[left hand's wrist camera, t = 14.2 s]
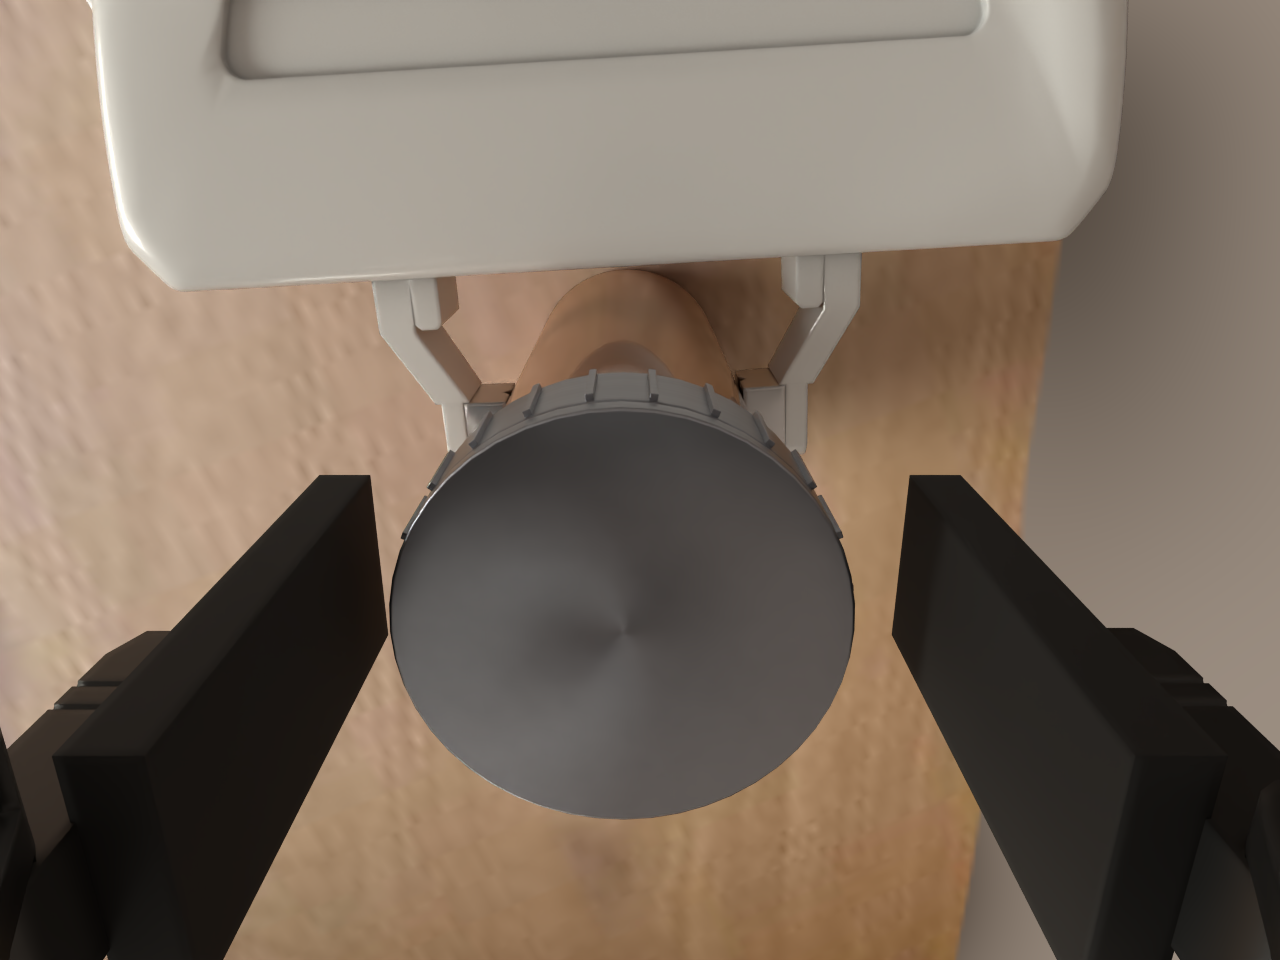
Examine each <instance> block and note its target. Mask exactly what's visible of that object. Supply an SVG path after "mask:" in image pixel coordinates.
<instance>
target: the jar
mask: <svg viewBox="0 0 1280 960" xmlns="http://www.w3.org/2000/svg"><path fill="white" fill-rule="evenodd" d="M591 369H597V374H602V373H618V372H628V373H644V374H648V369H655V370H656V374H657V375H659V376H665V377H670V378H675V379H680V380H683V381H686V382H689V383H692V384H695V385H698V386H701V387H704V386H705V383H708V384H710V385H712V386H713V389H714V392H715V393H717V394H719V395H721V396H723V397H725V398H727V399H730V400H732V401H733V402H735V403H736V404H738V405H739V406H741V407H742V408H744V409H745V410H747V411H748V409H747V407H746V405H745V402H744V400H743V398H742V396H741V393H740V391H739V389H738V386H737V384H736V382H735V380H734V377H733V375H732V373H731V371H730V368H729V366H728V364H727V361H726V359H725V357H724V355H723V352H722V350H721V348H720V346H719V343H718V341H717V339H716V336H715V334H714V332H713V330H712V327H711V325H710V323H709V321H708V319H707V317H706V315H705V313H704V311H703V310H702V308H701V307H700V305H699V304H698V303H697V302H696V300H695V299H694V298H693V297H692V296H691V295H690V294H689V293H688V292H687V291H686V290H684V289H683V288H682V287H680V286H679V285H678V284H676V283H675V282H673V281H671V280H669V279H667V278H665V277H663V276H660V275H658V274H655V273H652V272H647V271H642V270H632V269H623V270H613V271H608V272H604V273H601V274H598V275H595V276H592V277H590V278H588V279H586V280H584V281H582V282H581V283H579V284H578V285H577V286H575V287H574V288H572V289H571V290H570V291H569V292H568V293H567V294H566V295H565V296H563V298H562V299H561V300H560V301H559V302H558V304H557V305H556V306H555V308H554V309H553V311H552V313H551V314H550V316H549V318H548V320H547V322H546V324H545V326H544V328H543V330H542V332H541V334H540V336H539V338H538V340H537V342H536V344H535V346H534V348H533V350H532V353H531V355H530V357H529V359H528V361H527V363H526V365H525V367H524V369H523V371H522V373H521V375H520V377H519V379H518V381H517V383H516V385H515V387H514V389H513V391H512V393H511V395H510V397H509V399H508V401H507V404H506V406H507V405H508V404H510V403H511V402H513V401H515V400H517V399H519V398H521V397H523V396H525V395H527V394H529V393H530V392H531V389H532V387H533V385H536V384H538V383H540V385H541V387H545V386H548V385H551V384H554V383H557V382H560V381H563V380H566V379H571V378H576V377H581V376H587V375H589V370H591ZM748 412H749V411H748Z"/></svg>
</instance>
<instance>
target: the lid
mask: <svg viewBox="0 0 1280 960" xmlns="http://www.w3.org/2000/svg"><path fill="white" fill-rule="evenodd" d="M816 487H817V486H816V484H815V482H814V480H813V478H812V476H811V475H810V473H809V471H808V469H807V467H806V465H805V464H804V462H803V460H802V458H801V456H800V454H799V453H798V452H797V450H796V449H794V450H793V451H792V452H791V451H790V450H789V449H788V448H787V447H786V446H785V445H784V443H783V442H782V441H781V440H780V439H779V438H778V436H777V435H776V434H775V433H774V432H773V431H772V430H770V429H769V428H768V427H767V425H766V423H765V421H764V419H763V417H762V415H761V414H760V413H759V412H758V411H755V412H754V413H753V414H751V413H750V412H748V411H747V410H745V409H744V408H742V407H741V406H739V405H738V404H736V403H735V402H733V401H732V400H730V399H727V398H725V397H723V396H721V395H719V394H717V393H715V392H714V389H713V386H712V385H710V384H708V383H705V386H704V387H701V386H698V385H695V384H692V383H689V382H686V381H683V380H680V379H675V378H670V377H665V376H659V375H657V374H656V370H655V369H648V374H644V373H628V372H618V373H602V374H597V369H591V370H589V375H587V376H581V377H576V378H571V379H566V380H563V381H560V382H557V383H554V384H551V385H548V386H545V387H541V385H540V383H538V384H536V385H533V387H532V389H531V392H530V393H529V394H527V395H525V396H523V397H521V398H519V399H517V400H515V401H513V402H511V403H510V404H508V405H507V406H505V407H504V408H502V409H501V410H499V411H498V412H496V413H495V414H492V413H491V412H490V411H488V412H487V413H486V414H485V415H484V416H483V418H482V420H481V422H480V423H479V425H478V427H477V429H476V430H475V431H474V432H472V433H471V434H470V435H469V437H468V438H467V439H466V440H465V441H464V443H463V444H462V445H461V446H460V447H459V448H458V450H457V451H456V452H453V451H452V450H449V452H448V453H447V454H446V456H445V458H444V459H443V461H442V463H441V464H440V466H439V468H438V469H437V471H436V473H435V474H434V476H433V478H432V479H431V481H430V483H429V484H428V486H427V488H428V489H430V490H431V492H430V494H429V495H428V497H427V496H424V498H423V499H422V501H421V503H420V504H419V506H418V508H417V509H416V511H415V513H414V514H413V516H412V518H411V519H410V521H409V523H408V524H407V526H406V528H405V529H404V531H403V533H402V536H401V539H403V540H404V542H403V545H402V547H401V549H400V552H399V555H398V559H397V563H396V566H395V570H394V574H393V577H392V586H391V594H390V603H389V612H390V634H391V639H392V645H393V650H394V656H395V660H396V663H397V666H398V669H399V672H400V675H401V678H402V681H403V684H404V686H405V688H406V690H407V692H408V694H409V696H410V698H411V700H412V702H413V704H414V706H415V708H416V710H417V711H418V712H419V714H420V715H421V717H422V718H423V720H424V721H425V723H426V724H427V726H428V727H429V729H430V730H431V731H432V732H433V734H434V735H435V736H436V737H437V738H438V739H439V740H440V741H441V743H442V744H443V745H444V746H445V747H446V748H447V749H448V750H449V751H450V752H451V753H452V754H453V755H454V756H455V757H457V758H458V759H459V760H460V761H461V762H462V763H463V764H465V765H466V766H467V767H468V768H469V769H471V770H472V771H474V772H475V773H476V774H478V775H479V776H481V777H482V778H484V779H485V780H487V781H488V782H490V783H491V784H493V785H495V786H497V787H499V788H501V789H502V790H504V791H506V792H508V793H510V794H512V795H514V796H516V797H518V798H521V799H523V800H526V801H529V802H531V803H534V804H536V805H539V806H541V807H545V808H549V809H552V810H556V811H560V812H564V813H567V814H573V815H579V816H586V817H592V818H604V819H640V818H654V817H660V816H666V815H672V814H678V813H682V812H686V811H689V810H693V809H696V808H700V807H704V806H707V805H709V804H712V803H714V802H717V801H719V800H722V799H724V798H727V797H729V796H732V795H733V794H735V793H737V792H739V791H741V790H743V789H745V788H746V787H748V786H750V785H752V784H754V783H756V782H757V781H758V780H760V779H761V778H763V777H764V776H766V775H767V774H768V773H770V772H771V771H773V770H774V769H776V768H777V767H778V766H779V765H781V764H782V763H783V762H784V761H785V760H786V759H787V758H788V757H789V756H791V755H792V754H793V753H794V752H795V751H796V750H797V749H798V748H799V747H800V746H801V745H802V744H803V742H804V741H805V740H806V739H807V738H808V737H809V736H810V734H811V733H812V732H813V731H814V730H815V728H816V727H817V725H818V724H819V722H820V721H821V719H822V718H823V716H824V715H825V713H826V712H827V710H828V709H829V707H830V706H831V703H832V701H833V699H834V697H835V695H836V693H837V691H838V689H839V687H840V685H841V683H842V680H843V677H844V674H845V670H846V667H847V664H848V661H849V658H850V653H851V647H852V641H853V635H854V623H855V600H854V593H853V591H854V589H853V583H852V577H851V573H850V570H849V566H848V563H847V559H846V556H845V552H844V549H843V547H842V545H841V542H840V540H839V539H840V538H843V534H842V532H841V530H840V528H839V526H838V524H837V522H836V521H835V519H834V517H833V515H832V513H831V511H830V510H829V508H828V506H827V504H826V502H825V500H824V499H823V497H822V495H819V496H817V494H816V493H815V491H814V488H816Z"/></svg>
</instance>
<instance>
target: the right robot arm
mask: <svg viewBox="0 0 1280 960" xmlns="http://www.w3.org/2000/svg"><path fill="white" fill-rule="evenodd" d="M86 1H87V3H88V5H89V6H90V8H91V10H92V14H93V29H94V44H95V56H96V68H97V79H98V91H99V99H100V107H101V115H102V123H103V131H104V139H105V145H106V152H107V158H108V165H109V171H110V177H111V183H112V188H113V194H114V199H115V205H116V210H117V214H118V218H119V223H120V227H121V231H122V233H123V236H124V239H125V241H126V243H127V245H128V247H129V248H130V250H131V251H132V252H133V253H134V254H135V255H136V256H137V257H138V258H139V259H140V260H141V261H142V262H143V263H144V264H145V265H146V266H147V267H148V268H149V269H150V270H151V271H152V272H153V273H154V274H155V275H157V276H158V277H159V278H160V279H161V280H162V281H163V282H164V283H165V284H167V285H168V286H169V287H170V288H172V289H174V290H176V291H180V292H195V291H213V290H230V289H247V288H265V287H282V286H299V285H316V284H333V283H350V282H367V281H372V288H373V294H374V300H375V307H376V313H377V320H378V326H379V332H380V335H381V336H382V337H383V339H384V340H385V341H386V342H387V344H388V345H389V346H390V347H391V349H392V350H393V351H394V352H395V354H396V355H397V356H398V358H399V359H400V360H401V361H402V363H403V364H404V365H405V366H406V368H407V369H408V370H409V371H410V373H411V374H412V375H413V376H414V378H415V379H416V380H417V382H418V383H419V384H420V385H421V387H422V388H423V389H424V390H425V392H426V393H427V394H428V395H429V397H430V398H431V399H432V400H433V402H434V403H435V404H436V405H442V412H443V419H444V426H445V434H446V441H447V448H448V452H449V450H452V451H453V452H456V451H457V450H458V448H459V447H460V446H461V445H462V444H463V443H464V441H465V440H466V439H467V438H468V437H469V435H470V434H471V433H472V432H474V431H475V430H476V429H477V427H478V425H479V423H480V422H481V420H482V418H483V416H484V415H485V414H486V413H487V412H488V411H490V412H491V413H492V414H495V413H496V412H498V411H499V410H501V409H502V408H504V407H505V406H506V404H507V401H508V399H509V397H510V395H511V393H512V391H513V389H514V387H515V383H502V384H481V383H482V382H481V381H480V379H479V378H478V376H477V375H476V373H475V372H474V371H473V369H472V368H471V366H470V365H469V363H468V362H467V361H466V359H465V358H464V356H463V355H462V353H461V352H460V351H459V349H458V348H457V346H456V345H455V343H454V342H453V341H452V339H451V338H450V336H449V335H448V333H447V332H446V331H445V329H444V328H443V326H442V325H443V324H444V323H445V322H446V321H447V320H448V319H449V318H450V317H451V316H452V315H453V314H454V313H455V312H456V311H457V310H458V309H459V303H458V294H457V285H456V277H455V276H469V275H486V274H503V273H520V272H537V271H554V270H571V269H588V268H606V267H623V266H640V265H657V264H674V263H691V262H708V261H725V260H742V259H759V258H776V257H781V279H782V290H783V291H784V292H785V293H786V294H787V295H788V296H789V297H790V298H791V299H792V300H793V301H794V302H795V303H796V304H797V305H799V306H800V307H799V309H798V311H797V313H796V315H795V316H794V318H793V320H792V322H791V324H790V326H789V327H788V329H787V331H786V333H785V335H784V337H783V339H782V340H781V342H780V344H779V346H778V348H777V350H776V352H775V353H774V355H773V357H772V359H771V361H770V363H769V365H768V367H769V368H760V369H747V370H735V382H736V384H737V386H738V389H739V391H740V393H741V396H742V398H743V400H744V402H745V405H746V407H747V409H748V411H749V412H750V413H751V414H753V413H754V412H755V411H758V412H759V413H760V414H761V415H762V417H763V419H764V421H765V423H766V425H767V427H768V428H769V429H770V430H772V431H773V432H774V433H775V434H776V435H777V436H778V438H779V439H780V440H781V441H782V442H783V443H784V445H785V446H786V447H787V448H788V449H789V450H790V451H791V452H792V451H793V450H794V449H796V450H797V452H798V453H799V454H804V453H805V452H806V446H807V405H808V384H810V383H814V381H815V380H816V378H817V376H818V375H819V373H820V371H821V370H822V368H823V366H824V365H825V363H826V361H827V360H828V358H829V357H830V355H831V353H832V352H833V350H834V348H835V347H836V345H837V343H838V342H839V340H840V339H841V337H842V335H843V334H844V332H845V330H846V329H847V327H848V325H849V324H850V322H851V320H852V319H853V317H854V316H855V314H856V312H857V311H858V309H859V307H860V288H861V259H862V252H878V251H895V250H912V249H929V248H947V247H964V246H981V245H998V244H1015V243H1031V242H1047V241H1058V240H1061V239H1064V238H1066V237H1067V236H1069V235H1070V234H1071V233H1072V232H1073V231H1074V230H1075V229H1076V228H1077V227H1078V226H1079V225H1080V224H1081V222H1082V221H1083V220H1084V219H1085V217H1086V216H1087V215H1088V214H1089V212H1090V211H1091V210H1092V209H1093V207H1094V206H1095V205H1096V204H1097V202H1098V201H1099V200H1100V198H1101V197H1102V196H1103V195H1104V193H1105V192H1106V190H1107V189H1108V187H1109V185H1110V182H1111V180H1112V176H1113V172H1114V168H1115V164H1116V158H1117V152H1118V145H1119V137H1120V128H1121V119H1122V109H1123V97H1124V85H1125V70H1126V53H1127V26H1128V0H86Z"/></svg>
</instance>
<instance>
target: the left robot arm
mask: <svg viewBox="0 0 1280 960" xmlns="http://www.w3.org/2000/svg"><path fill="white" fill-rule="evenodd" d="M387 636H388V629H387V620H386V611H385V602H384V593H383V584H382V575H381V566H380V558H379V549H378V540H377V531H376V522H375V513H374V504H373V496H372V487H371V478H370V475H319V476H318V477H317V478H316V479H315V480H314V481H313V483H312V484H311V485H310V486H309V487H308V488H307V489H306V490H305V491H304V492H303V493H302V494H301V495H300V496H299V497H298V498H297V499H296V500H295V501H294V502H293V503H292V505H291V506H290V507H289V508H288V509H287V510H286V511H285V512H284V513H283V514H282V515H281V516H280V517H279V518H278V519H277V520H276V521H275V522H274V523H273V524H272V525H271V527H270V528H269V529H268V530H267V531H266V532H265V533H264V534H263V535H262V536H261V537H260V538H259V539H258V540H257V541H256V542H255V543H254V544H253V545H252V546H251V547H250V549H249V550H248V551H247V552H246V553H245V554H244V555H243V556H242V557H241V558H240V559H239V560H238V561H237V562H236V563H235V564H234V565H233V566H232V567H231V568H230V569H229V571H228V572H227V573H226V574H225V575H224V576H223V577H222V578H221V579H220V580H219V581H218V582H217V583H216V584H215V585H214V586H213V587H212V588H211V589H210V590H209V592H208V593H207V594H206V595H205V596H204V597H203V598H202V599H201V600H200V601H199V602H198V603H197V604H196V605H195V606H194V607H193V608H192V609H191V610H190V611H189V612H188V614H187V615H186V616H185V617H184V618H183V619H182V620H181V621H180V622H179V623H178V624H177V625H176V626H175V627H174V628H173V629H172V630H171V631H146V632H145V633H143V634H141V635H139V636H137V637H136V638H134V639H132V640H130V641H128V642H127V643H125V644H123V645H121V646H120V647H118V648H116V649H114V650H112V651H111V652H109V653H107V654H105V655H104V656H103V657H102V658H101V659H100V660H99V661H98V662H97V663H96V664H95V665H94V666H93V667H92V668H91V669H90V670H89V671H88V672H87V673H86V674H85V675H84V676H83V677H82V678H81V679H80V680H79V681H78V685H77V687H71V688H70V689H69V690H68V691H67V692H66V693H65V694H64V695H63V696H62V697H61V698H60V699H59V700H58V701H57V702H56V703H55V704H54V709H53V710H47V711H46V712H45V713H44V714H43V715H42V716H41V717H40V718H39V719H38V720H37V721H36V722H35V723H34V724H33V725H32V726H31V727H30V728H29V729H28V730H27V731H26V732H25V733H24V734H22V735H21V736H20V737H19V738H18V739H17V740H16V741H15V742H14V743H13V744H12V745H11V746H10V747H9V748H8V749H6V745H5V742H4V738H3V735H2V732H1V728H0V960H103V959H104V958H105V956H106V955H107V957H108V960H223V959H224V957H225V955H226V953H227V951H228V949H229V947H230V945H231V943H232V941H233V939H234V937H235V935H236V933H237V931H238V929H239V927H240V925H241V923H242V921H243V919H244V917H245V916H246V914H247V912H248V910H249V908H250V906H251V904H252V902H253V900H254V898H255V896H256V894H257V892H258V890H259V888H260V886H261V884H262V882H263V880H264V878H265V876H266V874H267V872H268V870H269V868H270V866H271V864H272V862H273V860H274V858H275V856H276V855H277V853H278V851H279V849H280V847H281V845H282V843H283V841H284V839H285V837H286V835H287V833H288V831H289V829H290V827H291V825H292V823H293V821H294V819H295V817H296V815H297V813H298V811H299V809H300V807H301V805H302V803H303V801H304V799H305V797H306V795H307V794H308V792H309V790H310V788H311V786H312V784H313V782H314V780H315V778H316V776H317V774H318V772H319V770H320V768H321V766H322V764H323V762H324V760H325V758H326V756H327V754H328V752H329V750H330V748H331V746H332V744H333V742H334V740H335V738H336V736H337V734H338V733H339V731H340V729H341V727H342V725H343V723H344V721H345V719H346V717H347V715H348V713H349V711H350V709H351V707H352V705H353V703H354V701H355V699H356V697H357V695H358V693H359V691H360V689H361V687H362V685H363V683H364V681H365V679H366V677H367V675H368V674H369V672H370V670H371V668H372V666H373V664H374V662H375V660H376V658H377V656H378V654H379V652H380V650H381V648H382V646H383V644H384V642H385V640H386V638H387ZM892 636H893V638H894V640H895V642H896V644H897V646H898V648H899V650H900V652H901V654H902V656H903V658H904V660H905V662H906V664H907V666H908V668H909V670H910V672H911V674H912V675H913V677H914V679H915V681H916V683H917V685H918V687H919V689H920V691H921V693H922V695H923V697H924V699H925V701H926V703H927V705H928V707H929V709H930V711H931V713H932V715H933V717H934V719H935V721H936V723H937V725H938V727H939V729H940V731H941V733H942V734H943V736H944V738H945V740H946V742H947V744H948V746H949V748H950V750H951V752H952V754H953V756H954V758H955V760H956V762H957V764H958V766H959V768H960V770H961V772H962V774H963V776H964V778H965V780H966V782H967V784H968V786H969V788H970V790H971V792H972V794H973V795H974V797H975V799H976V801H977V803H978V805H979V807H980V809H981V811H982V813H983V815H984V817H985V819H986V821H987V823H988V825H989V827H990V829H991V831H992V833H993V835H994V837H995V839H996V841H997V843H998V845H999V847H1000V849H1001V851H1002V853H1003V854H1004V856H1005V858H1006V860H1007V862H1008V864H1009V866H1010V868H1011V870H1012V872H1013V874H1014V876H1015V878H1016V880H1017V882H1018V884H1019V886H1020V888H1021V890H1022V892H1023V894H1024V896H1025V898H1026V900H1027V902H1028V904H1029V906H1030V908H1031V910H1032V912H1033V914H1034V916H1035V917H1036V919H1037V921H1038V923H1039V925H1040V927H1041V929H1042V931H1043V933H1044V935H1045V937H1046V939H1047V941H1048V943H1049V945H1050V947H1051V949H1052V951H1053V953H1054V955H1055V957H1056V959H1057V960H1172V957H1173V953H1174V951H1175V953H1176V954H1177V956H1178V957H1179V959H1180V960H1280V751H1279V750H1278V749H1277V748H1276V747H1275V746H1274V745H1273V744H1272V743H1271V742H1270V741H1268V740H1267V739H1266V738H1265V737H1264V736H1263V735H1262V734H1261V733H1260V732H1259V731H1258V730H1257V729H1256V728H1255V727H1254V726H1253V725H1252V724H1251V723H1250V722H1249V721H1248V720H1246V719H1245V718H1244V717H1243V716H1242V715H1241V714H1240V713H1239V712H1238V711H1237V710H1236V709H1235V708H1234V707H1233V706H1227V700H1226V699H1225V698H1223V697H1222V696H1221V695H1220V694H1219V693H1218V692H1217V691H1216V690H1215V689H1214V688H1213V687H1212V686H1211V685H1210V684H1209V683H1203V677H1202V676H1201V675H1199V674H1198V673H1197V672H1196V671H1195V670H1194V669H1193V668H1192V667H1191V666H1190V665H1189V664H1188V663H1187V662H1186V661H1185V660H1184V659H1183V658H1182V657H1181V656H1180V655H1179V654H1178V653H1176V652H1175V651H1174V650H1172V649H1170V648H1169V647H1167V646H1165V645H1163V644H1161V643H1160V642H1158V641H1156V640H1154V639H1152V638H1151V637H1149V636H1147V635H1145V634H1143V633H1142V632H1140V631H1138V630H1136V629H1134V628H1106V627H1105V626H1104V625H1103V624H1102V623H1101V622H1100V621H1099V620H1098V619H1097V618H1096V617H1095V616H1094V615H1093V614H1092V613H1091V611H1090V610H1089V609H1088V608H1087V607H1086V606H1085V605H1084V604H1083V603H1082V602H1081V601H1080V600H1079V599H1078V598H1077V597H1076V596H1075V595H1074V594H1073V593H1072V592H1071V590H1070V589H1069V588H1068V587H1067V586H1066V585H1065V584H1064V583H1063V582H1062V581H1061V580H1060V579H1059V578H1058V577H1057V576H1056V575H1055V574H1054V573H1053V572H1052V571H1051V569H1050V568H1049V567H1048V566H1047V565H1046V564H1045V563H1044V562H1043V561H1042V560H1041V559H1040V558H1039V557H1038V556H1037V555H1036V554H1035V553H1034V552H1033V551H1032V550H1031V549H1030V547H1029V546H1028V545H1027V544H1026V543H1025V542H1024V541H1023V540H1022V539H1021V538H1020V537H1019V536H1018V535H1017V534H1016V533H1015V532H1014V531H1013V530H1012V529H1011V528H1010V527H1009V525H1008V524H1007V523H1006V522H1005V521H1004V520H1003V519H1002V518H1001V517H1000V516H999V515H998V514H997V513H996V512H995V511H994V510H993V509H992V508H991V507H990V506H989V505H988V503H987V502H986V501H985V500H984V499H983V498H982V497H981V496H980V495H979V494H978V493H977V492H976V491H975V490H974V489H973V488H972V487H971V486H970V485H969V484H968V483H967V481H966V480H965V479H964V478H963V477H962V476H961V475H910V478H909V487H908V496H907V504H906V513H905V522H904V531H903V540H902V549H901V558H900V567H899V575H898V584H897V593H896V602H895V611H894V620H893V629H892Z"/></svg>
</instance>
